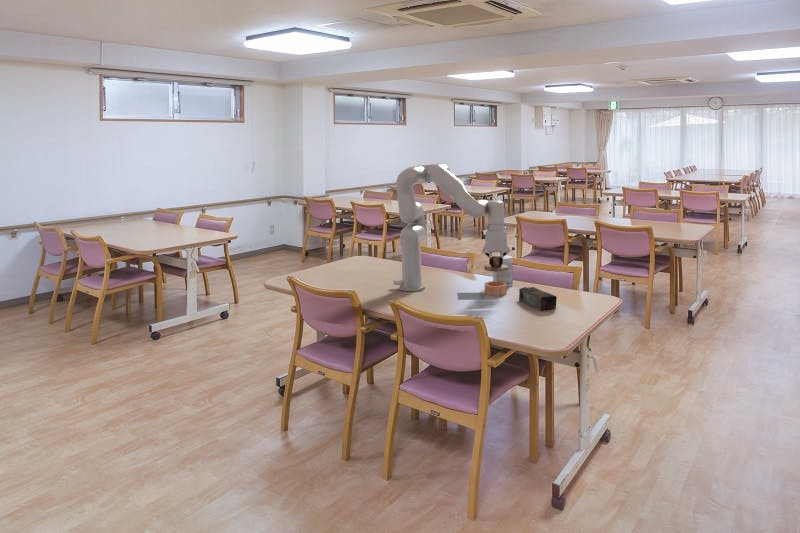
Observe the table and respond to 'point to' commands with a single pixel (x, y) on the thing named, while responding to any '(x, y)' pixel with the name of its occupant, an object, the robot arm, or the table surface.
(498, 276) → the supplement tub
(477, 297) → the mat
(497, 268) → the lid
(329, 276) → the table surface
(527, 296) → the beverage carton
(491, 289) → the bowl
